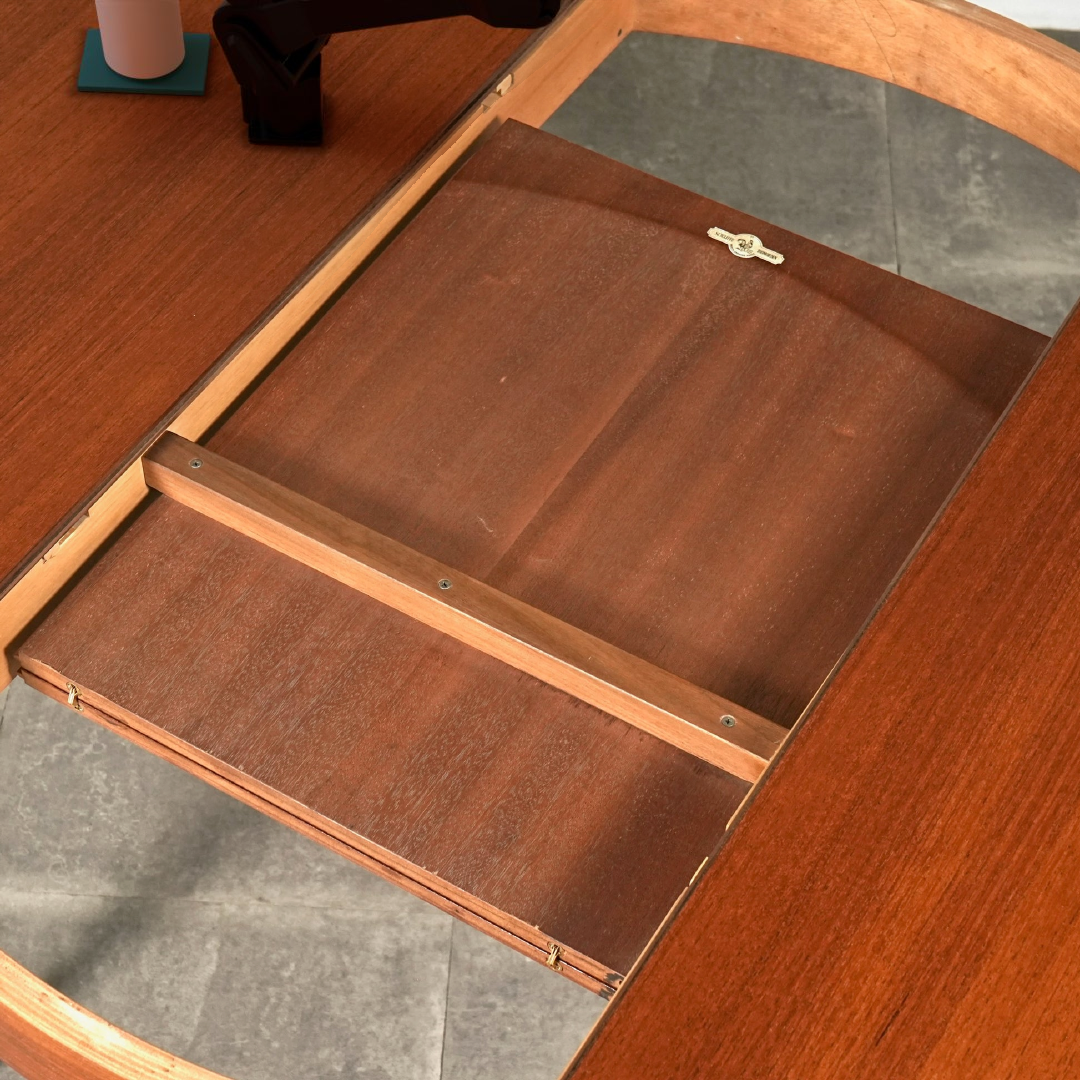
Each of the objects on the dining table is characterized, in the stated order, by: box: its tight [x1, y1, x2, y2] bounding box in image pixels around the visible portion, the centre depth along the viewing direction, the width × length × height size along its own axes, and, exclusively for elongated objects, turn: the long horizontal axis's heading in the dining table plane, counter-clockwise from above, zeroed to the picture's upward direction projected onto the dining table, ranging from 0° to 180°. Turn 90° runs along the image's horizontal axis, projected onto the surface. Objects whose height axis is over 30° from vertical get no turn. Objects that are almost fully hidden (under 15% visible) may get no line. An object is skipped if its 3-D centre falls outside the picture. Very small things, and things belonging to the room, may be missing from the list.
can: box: [94, 0, 185, 79], centre depth 138 cm, size 7×7×12 cm
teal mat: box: [76, 28, 212, 97], centre depth 143 cm, size 11×8×1 cm
